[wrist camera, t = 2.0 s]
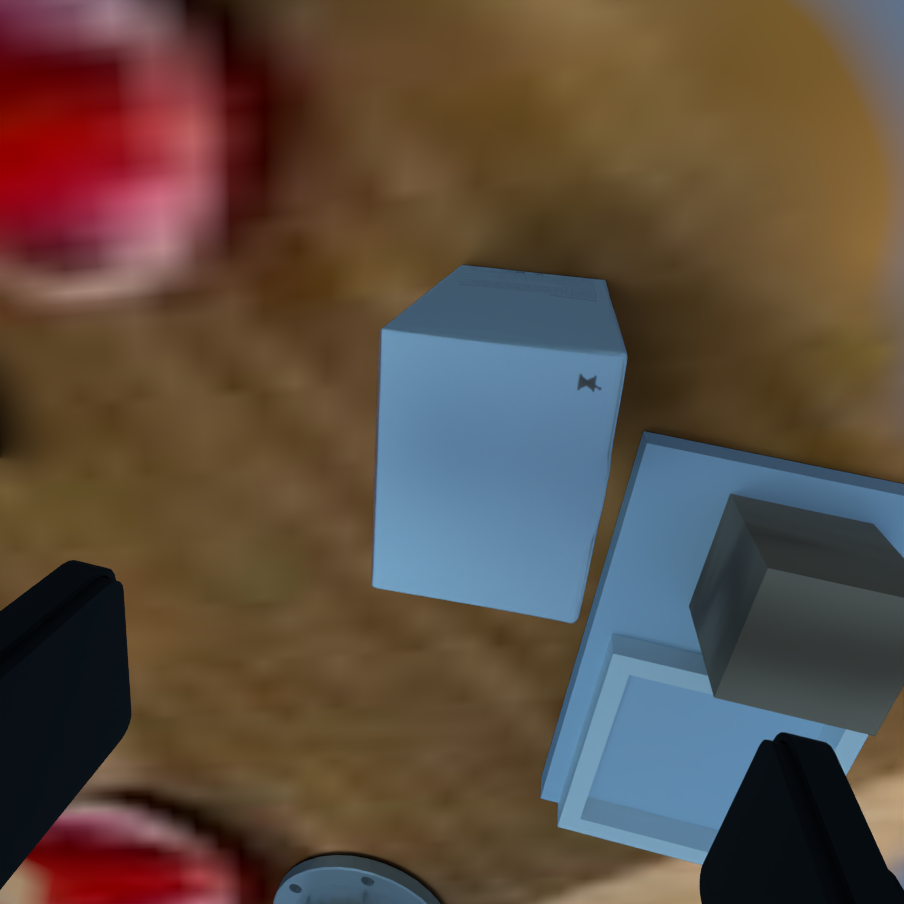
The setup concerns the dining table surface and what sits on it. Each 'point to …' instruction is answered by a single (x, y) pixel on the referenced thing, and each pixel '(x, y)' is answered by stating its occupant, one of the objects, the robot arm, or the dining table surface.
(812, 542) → the dark gray block
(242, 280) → the dining table surface
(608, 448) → the small box
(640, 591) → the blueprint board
